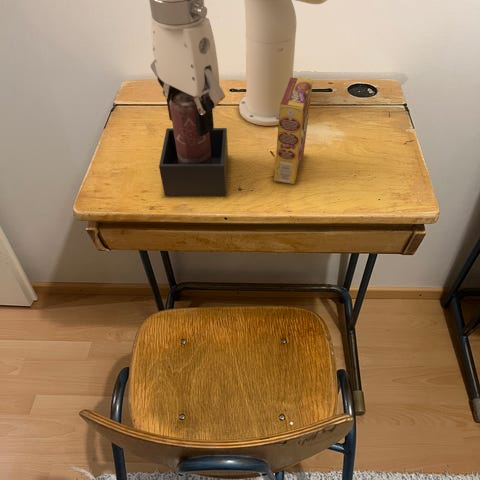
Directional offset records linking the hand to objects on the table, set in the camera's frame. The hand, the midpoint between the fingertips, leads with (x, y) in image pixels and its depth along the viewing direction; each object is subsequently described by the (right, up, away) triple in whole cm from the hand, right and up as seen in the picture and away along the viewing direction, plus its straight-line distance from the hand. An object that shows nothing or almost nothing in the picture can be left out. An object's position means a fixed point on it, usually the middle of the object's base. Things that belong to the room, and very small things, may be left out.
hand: (191, 123), depth 79 cm
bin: (0, -6, +9) cm, 11 cm away
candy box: (+18, -5, +10) cm, 21 cm away
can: (0, -5, +8) cm, 9 cm away
